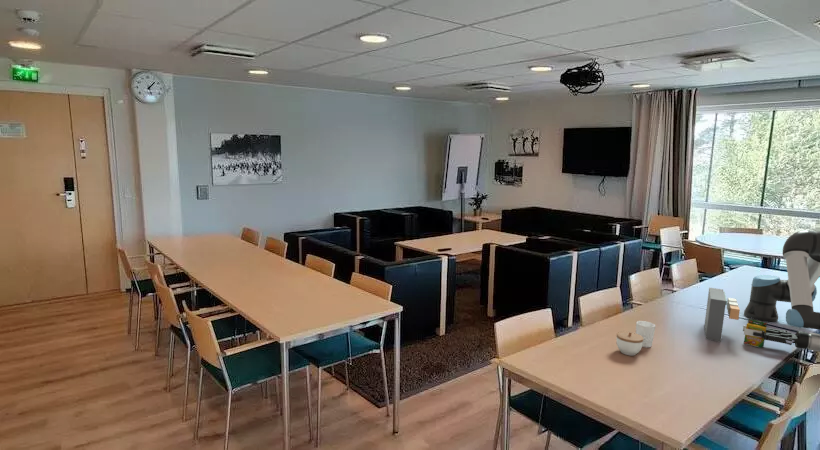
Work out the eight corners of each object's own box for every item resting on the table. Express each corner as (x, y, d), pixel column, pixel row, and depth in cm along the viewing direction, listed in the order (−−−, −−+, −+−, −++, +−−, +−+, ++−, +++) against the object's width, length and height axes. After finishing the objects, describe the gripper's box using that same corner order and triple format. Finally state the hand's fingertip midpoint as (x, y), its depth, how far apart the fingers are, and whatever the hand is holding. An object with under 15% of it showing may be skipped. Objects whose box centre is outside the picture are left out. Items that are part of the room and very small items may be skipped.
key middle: (727, 311, 232) (728, 301, 232) (736, 312, 231) (737, 302, 230) (728, 314, 228) (729, 304, 227) (737, 315, 226) (738, 305, 226)
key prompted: (728, 315, 226) (729, 305, 225) (737, 316, 224) (738, 306, 223) (729, 318, 222) (730, 308, 221) (738, 320, 220) (739, 309, 219)
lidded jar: (640, 349, 211) (642, 329, 210) (643, 359, 201) (645, 338, 200) (614, 346, 214) (616, 326, 213) (616, 355, 204) (618, 334, 203)
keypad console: (704, 324, 246) (709, 287, 243) (719, 327, 243) (724, 289, 240) (705, 339, 226) (710, 298, 223) (722, 342, 223) (727, 301, 220)
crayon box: (743, 343, 222) (746, 319, 220) (744, 342, 224) (747, 318, 222) (762, 348, 217) (766, 324, 215) (763, 346, 219) (767, 322, 217)
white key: (726, 307, 239) (727, 297, 238) (734, 308, 237) (736, 298, 236) (727, 309, 234) (728, 300, 234) (735, 311, 233) (737, 301, 232)
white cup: (655, 348, 213) (657, 327, 211) (636, 347, 214) (638, 325, 213) (650, 342, 220) (652, 321, 219) (632, 340, 222) (634, 320, 220)
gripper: (810, 355, 203) (744, 343, 215) (802, 342, 218) (740, 331, 229) (813, 339, 202) (746, 327, 214) (804, 326, 217) (743, 316, 228)
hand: (743, 329), depth 221 cm, fingers closed on crayon box, 4 cm apart
